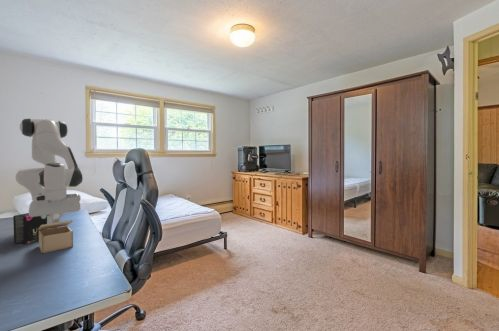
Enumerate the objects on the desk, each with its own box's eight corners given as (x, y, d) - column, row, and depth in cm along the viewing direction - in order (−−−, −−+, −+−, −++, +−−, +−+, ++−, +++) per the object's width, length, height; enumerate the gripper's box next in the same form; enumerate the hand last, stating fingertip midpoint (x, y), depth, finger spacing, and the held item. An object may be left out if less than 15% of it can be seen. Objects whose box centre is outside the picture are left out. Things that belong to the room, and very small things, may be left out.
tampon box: (27, 244, 127) (26, 216, 126) (13, 243, 129) (12, 215, 128) (48, 237, 138) (47, 212, 137) (35, 236, 139) (34, 211, 139)
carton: (39, 246, 124) (38, 230, 124) (67, 240, 133) (67, 226, 132) (42, 253, 114) (41, 236, 114) (73, 246, 123) (72, 231, 123)
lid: (38, 230, 124) (38, 228, 124) (67, 225, 133) (67, 223, 133) (41, 226, 115) (41, 224, 115) (72, 221, 123) (72, 220, 123)
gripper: (79, 192, 131) (79, 217, 131) (27, 196, 116) (28, 225, 117) (81, 193, 126) (82, 220, 127) (28, 198, 112) (29, 227, 112)
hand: (56, 222), depth 122 cm, fingers closed, pressing on lid
